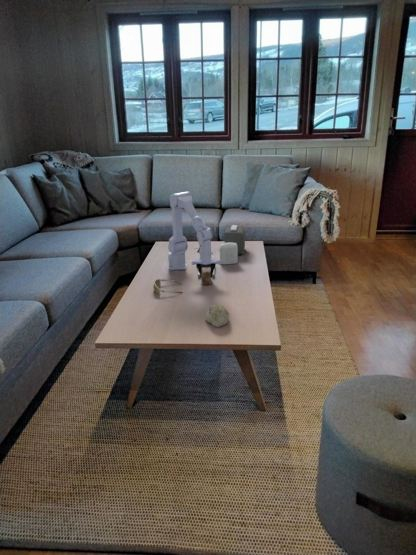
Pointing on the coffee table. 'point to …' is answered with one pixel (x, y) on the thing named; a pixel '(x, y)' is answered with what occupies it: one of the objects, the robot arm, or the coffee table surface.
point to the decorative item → (217, 315)
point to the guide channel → (206, 267)
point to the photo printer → (228, 253)
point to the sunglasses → (158, 283)
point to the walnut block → (206, 275)
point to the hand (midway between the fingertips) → (206, 277)
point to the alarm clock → (235, 237)
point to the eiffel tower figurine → (199, 251)
